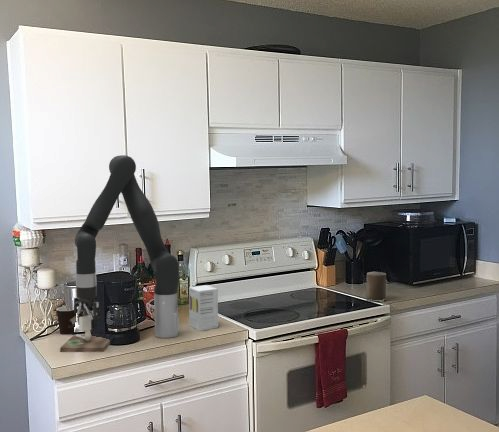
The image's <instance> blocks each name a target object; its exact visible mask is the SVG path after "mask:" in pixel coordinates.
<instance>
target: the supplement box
mask: <svg viewBox="0 0 499 432" xmlns="http://www.w3.org/2000/svg"><path fill="white" fill-rule="evenodd" d="M188 291H189V292H188V297H189V299H188V300H189V302H188V303H189V307H188V309H189V312H188V313H189V315H188V316H189V318H188V319H189V326H190V327H192V328H193V329H195V330H197V331H204V330H212V329H216V328H217V327H218V328H219V305H218V303H219V294H218V293H219V290H218V288H216V287H213V286H211V285H209V284H204V285H195V286H189V288H188ZM218 328H217V329H218Z"/></svg>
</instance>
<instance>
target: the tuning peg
mask: <svg viewBox="0 0 499 432" xmlns="http://www.w3.org/2000/svg"><path fill="white" fill-rule="evenodd" d="M92 315H93V316H94V314H92ZM78 329H79V331H80V332H84V335H85V337H84V336H81V335H82V334H75V335H76V337H79V338H82V339H85V341H90V340H91V335H92V334H91V330H92V329H91V317H90V315H88V314H87V315H84V316H83V317H79V325H78Z"/></svg>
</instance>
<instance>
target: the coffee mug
mask: <svg viewBox="0 0 499 432" xmlns="http://www.w3.org/2000/svg"><path fill="white" fill-rule="evenodd" d="M66 306H67V305H64V306H60V307H57V308H56V317H57V324H58V328H59V334H60V335H71V334H75V333H74V327H75V322H76V313H74V310H69V311H67V309H66Z"/></svg>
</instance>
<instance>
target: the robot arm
mask: <svg viewBox="0 0 499 432" xmlns="http://www.w3.org/2000/svg"><path fill="white" fill-rule="evenodd" d="M136 164H137V163H136V162H135V159H133V158H132V157H131V156H129V155H125V154H122V155H116V156H113V157H112V158H111V159H110V161H109V165H108V169H109V173H110V175H109V177H108V179H107V180H108V181H107V182H106V184H105V186H104V188H103V189H102V191H101V192H100V194H99V196H98V197H97V198H96V199H95V201H94V203H93V204H92V206H91V208H90V210H89V213H88V214H87V216H86V218H85V221H84V222H83V224H82V225H81V227H80V228H79V230H78V231H77V233H76V235H75V237H74V245H75V247H76V252H77V258H76V262H75V268H76V269H75V270H76V271H75V272H76V273H75V275H76V276H75V293H76V294H75V295H76V297H74V298H73V306H74V313H77V315H78V316H77V318H78V321H77V326H79V317H83V316H85V313H87V315H90V317H91V329H90V330H96V329H98V319H99V318H101V317H102V313H101V311H102V310H101V302H100V301H96V300H95V298H96V297H97V296H98V287H97V286H98V284H97V283H98V282H97V273H96V272H97V271H96V253H97V241H96V237H97V236H98V233H99V232H100V230H102V229H103V228H104V226H105V224H106V222H107V220H108V218H109V217H110V214H111V212H112V210H113V208H114V206H115V204H116V202H117V200H118V198H119V197H120V195H122V198H123V201H124V203H125V206H126V208H127V211H128V214H129V217H130V219H131V221H132V223H133V225H134V227H135V229H136V231H137V233H138V235H139V238H140V240H141V241H142V243H143V245H144V247H145V249H146V252H147V255H148V258H149V261H150V264H151V265H150V266H151V268H152V269H153V271H154V272H155V285H154V287H153V297H154V298H153V300H154V301H153V303H154V307H153V309H154V336H155V337H156V338H162V339H163V338H165V339H169V338H177V337H178V335H179V334H180V333H179V332H180V330H179V328H180V327H179V324H180V322H179V320H180V319H179V309H178V307H179V306H178V287H179V282H180V281H179V280H180V279H179V278H180V277H179V276H180V267H179V261H178V259H177V258H176V257H175V255H173V254H171V253H170V252H169V251H168V249H167V247H166V245H165V243H164V240H163V239H162V235H161V229H160V223H159V220H158V217H157V215H156V212H155V210H154V208H153V205H152V204H151V202H150V200H149V199H148V198H147V196H146V195H145V193H144V192H143V191H142V189H141V188H140V185H139V183H138V181H137V178H136V176H135V173H136V170H137V165H136ZM77 307H78V309H77ZM92 314H94V316H93V315H92Z"/></svg>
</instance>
